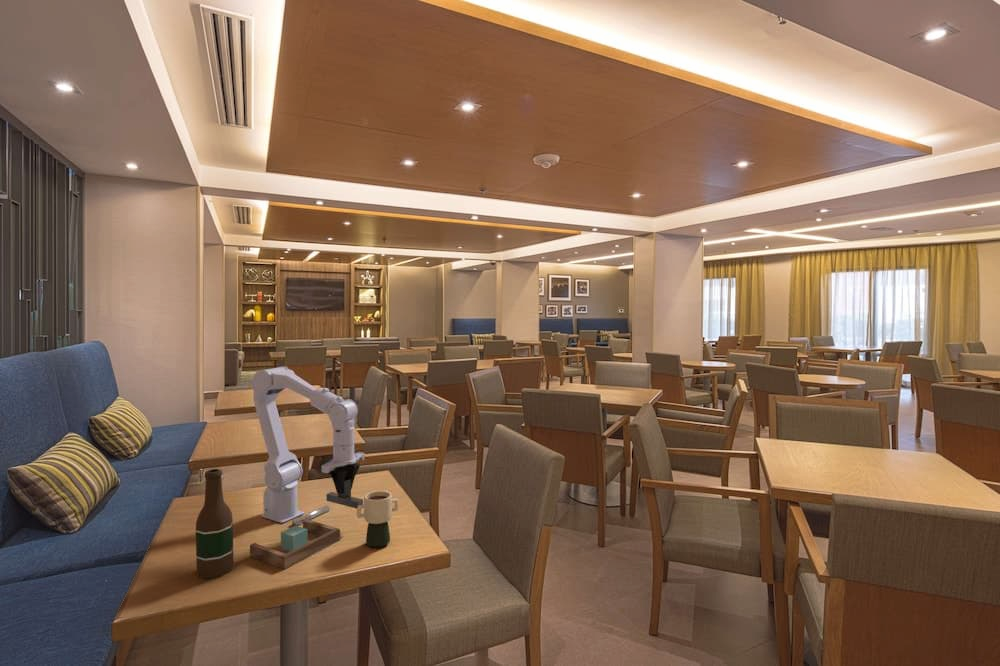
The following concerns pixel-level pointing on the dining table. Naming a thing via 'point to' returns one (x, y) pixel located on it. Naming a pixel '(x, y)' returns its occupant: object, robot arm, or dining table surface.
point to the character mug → (377, 516)
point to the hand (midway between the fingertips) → (344, 490)
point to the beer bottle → (214, 531)
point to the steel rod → (310, 515)
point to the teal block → (293, 538)
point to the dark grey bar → (345, 496)
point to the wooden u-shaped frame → (284, 561)
